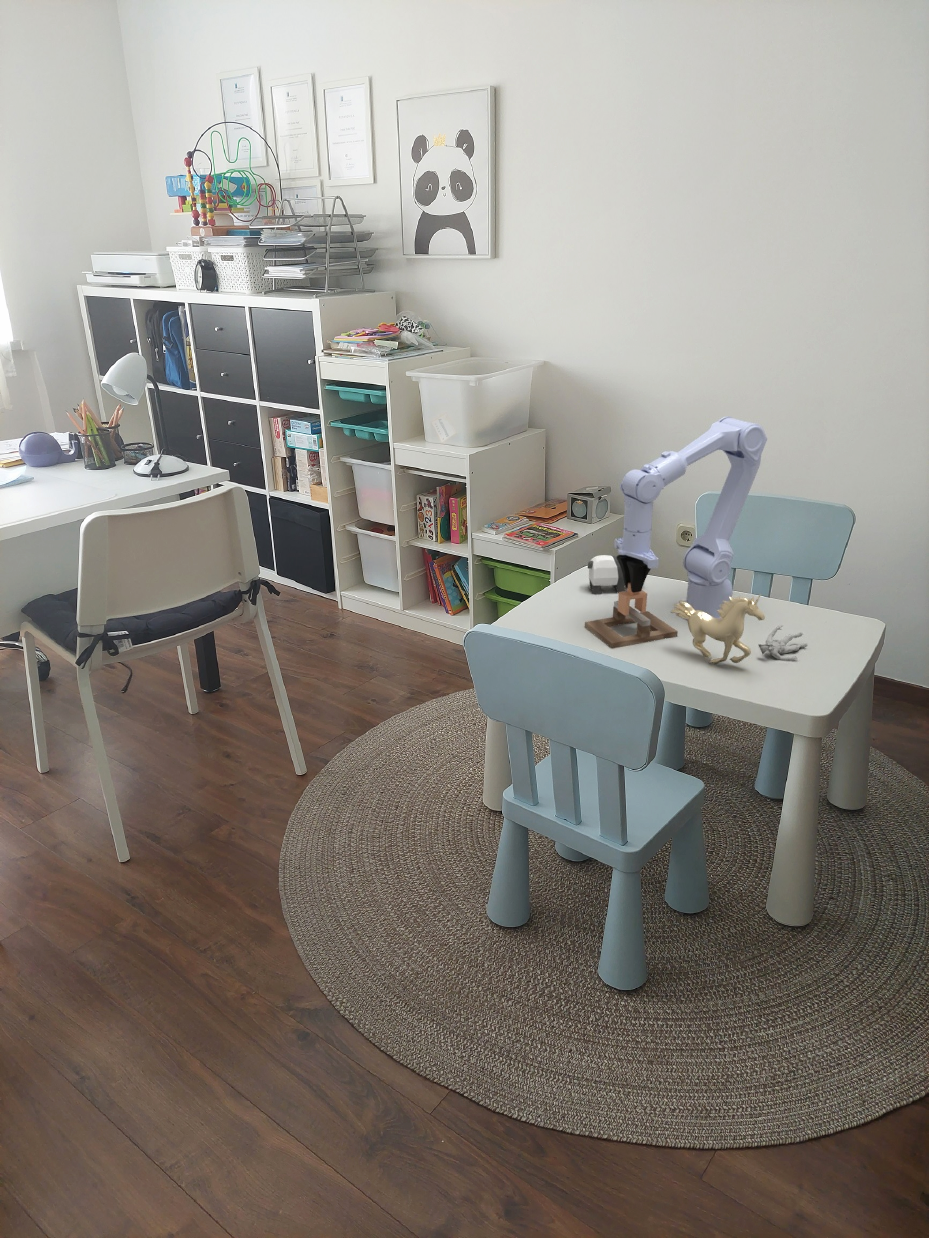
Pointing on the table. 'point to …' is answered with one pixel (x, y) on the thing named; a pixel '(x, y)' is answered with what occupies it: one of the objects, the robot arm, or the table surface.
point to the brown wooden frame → (643, 620)
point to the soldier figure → (781, 645)
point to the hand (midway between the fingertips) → (633, 589)
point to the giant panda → (605, 573)
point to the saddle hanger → (627, 596)
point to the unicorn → (720, 625)
